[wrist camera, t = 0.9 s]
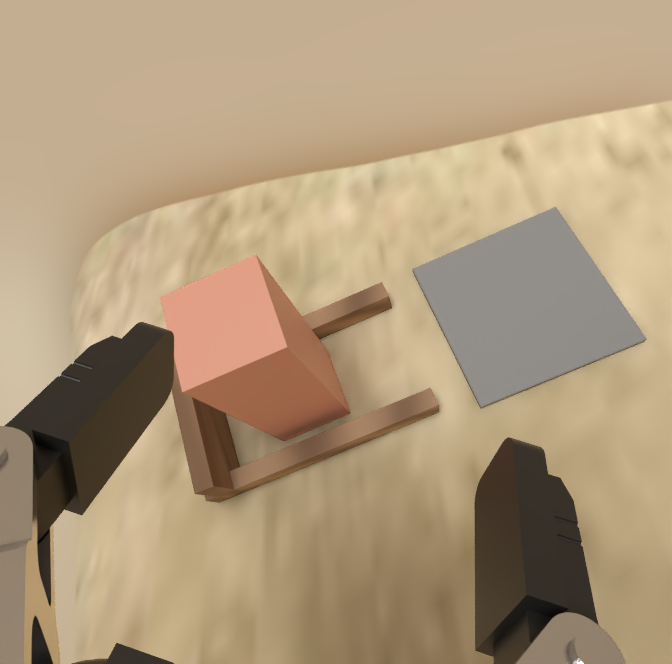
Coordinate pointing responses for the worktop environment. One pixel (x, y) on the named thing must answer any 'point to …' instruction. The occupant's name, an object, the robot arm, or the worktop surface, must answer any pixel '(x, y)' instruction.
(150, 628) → the worktop surface
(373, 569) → the worktop surface
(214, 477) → the frame
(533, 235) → the mat
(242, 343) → the red block
